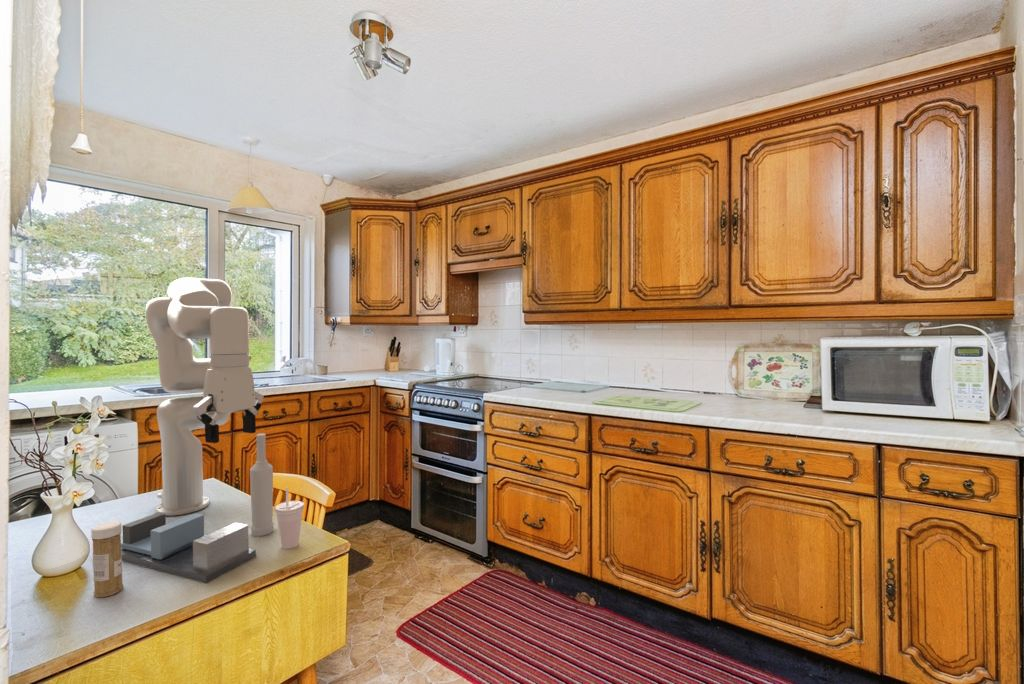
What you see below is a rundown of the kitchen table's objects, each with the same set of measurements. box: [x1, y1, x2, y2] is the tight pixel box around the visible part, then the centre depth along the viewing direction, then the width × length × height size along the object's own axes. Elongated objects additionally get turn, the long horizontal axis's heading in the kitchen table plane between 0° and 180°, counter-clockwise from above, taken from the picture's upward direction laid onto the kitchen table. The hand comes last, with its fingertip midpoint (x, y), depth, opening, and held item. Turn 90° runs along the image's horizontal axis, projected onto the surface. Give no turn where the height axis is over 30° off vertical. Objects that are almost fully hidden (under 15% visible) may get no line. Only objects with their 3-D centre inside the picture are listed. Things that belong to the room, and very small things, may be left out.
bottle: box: [249, 433, 275, 537], centre depth 121 cm, size 5×5×25 cm
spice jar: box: [90, 520, 124, 598], centre depth 94 cm, size 5×5×14 cm
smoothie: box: [274, 487, 305, 550], centre depth 114 cm, size 6×6×14 cm
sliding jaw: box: [121, 512, 205, 560], centre depth 111 cm, size 14×10×6 cm
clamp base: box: [121, 522, 257, 584], centre depth 108 cm, size 30×12×8 cm, turn 70°
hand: (231, 437), depth 108 cm, fingers open, 9 cm apart
